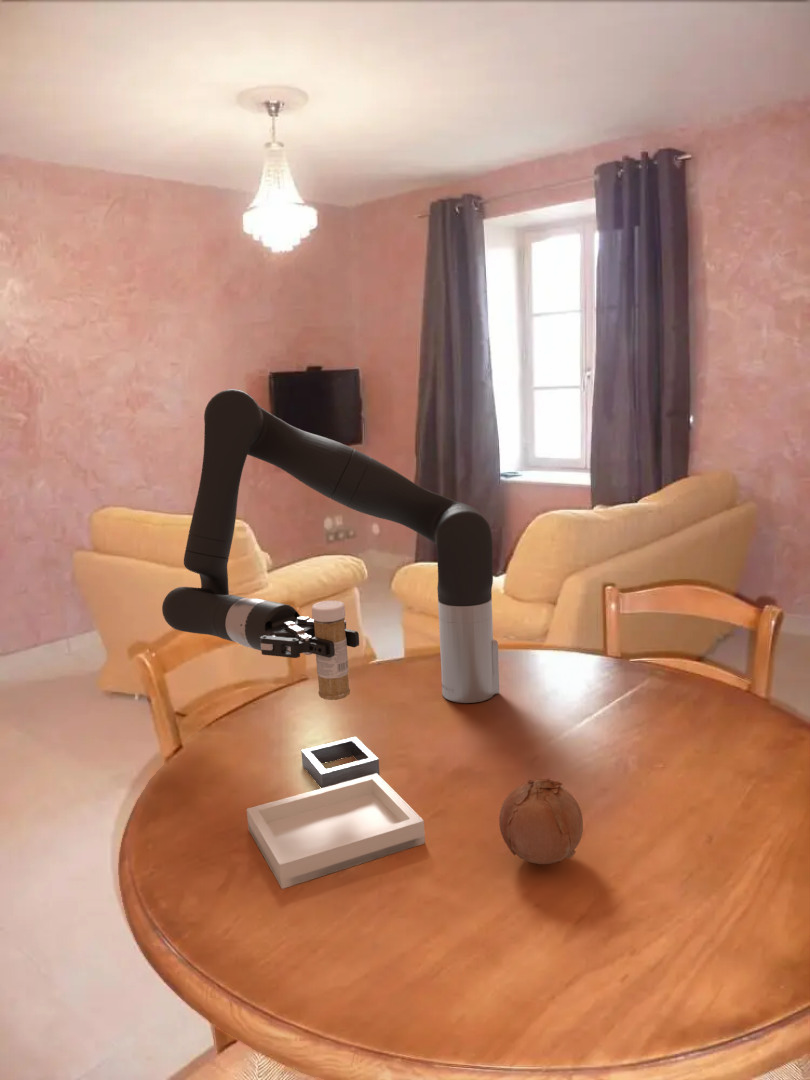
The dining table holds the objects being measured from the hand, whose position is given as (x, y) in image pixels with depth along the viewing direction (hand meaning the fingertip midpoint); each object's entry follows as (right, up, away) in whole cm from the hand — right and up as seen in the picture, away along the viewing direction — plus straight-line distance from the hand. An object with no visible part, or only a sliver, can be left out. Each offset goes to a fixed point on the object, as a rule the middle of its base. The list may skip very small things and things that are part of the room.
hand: (344, 644), depth 114 cm
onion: (+24, -23, -19) cm, 38 cm away
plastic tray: (0, -22, -11) cm, 25 cm away
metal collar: (-1, -19, +6) cm, 20 cm away
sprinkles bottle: (-2, -8, +3) cm, 9 cm away
